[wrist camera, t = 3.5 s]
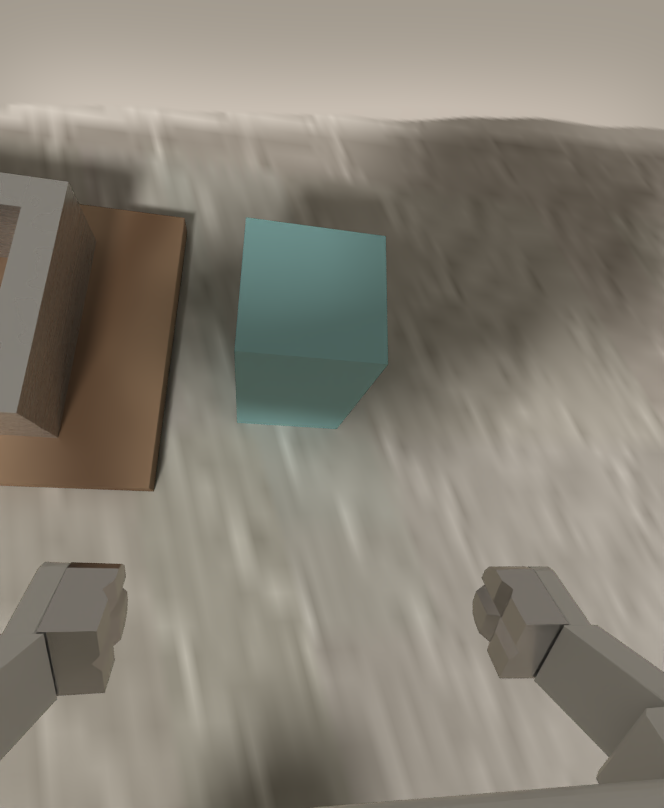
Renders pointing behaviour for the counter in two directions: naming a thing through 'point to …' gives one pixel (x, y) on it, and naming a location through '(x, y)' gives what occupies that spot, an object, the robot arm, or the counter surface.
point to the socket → (40, 300)
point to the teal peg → (308, 323)
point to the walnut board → (112, 362)
